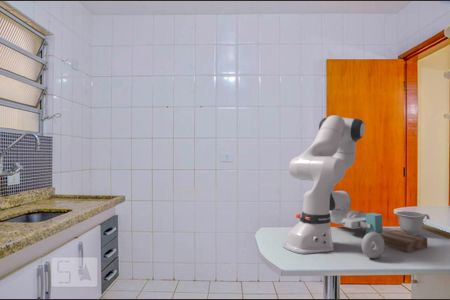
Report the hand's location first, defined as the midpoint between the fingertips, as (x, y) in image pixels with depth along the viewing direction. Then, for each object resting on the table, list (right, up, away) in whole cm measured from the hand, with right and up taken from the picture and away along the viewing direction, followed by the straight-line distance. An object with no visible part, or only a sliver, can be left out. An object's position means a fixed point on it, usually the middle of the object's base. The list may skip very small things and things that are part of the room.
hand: (375, 225), depth 139 cm
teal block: (0, -6, +1) cm, 6 cm away
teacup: (+22, -6, +6) cm, 23 cm away
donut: (-14, -6, -26) cm, 30 cm away
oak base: (+5, -6, -11) cm, 14 cm away
